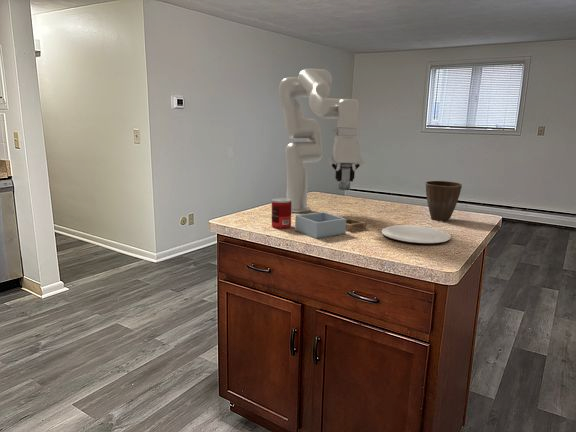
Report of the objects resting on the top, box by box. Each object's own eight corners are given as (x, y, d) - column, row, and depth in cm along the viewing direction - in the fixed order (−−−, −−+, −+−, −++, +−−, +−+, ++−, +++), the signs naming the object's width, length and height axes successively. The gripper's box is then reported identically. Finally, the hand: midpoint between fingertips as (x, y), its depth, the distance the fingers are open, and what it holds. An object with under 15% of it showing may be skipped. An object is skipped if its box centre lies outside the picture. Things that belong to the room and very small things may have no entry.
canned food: (293, 225, 180) (294, 198, 177) (287, 229, 172) (287, 202, 170) (275, 223, 182) (276, 197, 180) (268, 227, 175) (268, 200, 172)
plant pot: (458, 224, 186) (462, 187, 182) (421, 221, 190) (424, 184, 187) (457, 217, 200) (461, 182, 196) (423, 214, 204) (426, 180, 201)
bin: (295, 230, 171) (295, 215, 170) (323, 226, 178) (323, 211, 177) (316, 239, 160) (316, 222, 159) (345, 234, 167) (346, 218, 166)
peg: (339, 190, 169) (340, 163, 167) (336, 188, 174) (337, 162, 172) (352, 190, 169) (354, 164, 167) (349, 188, 174) (350, 162, 172)
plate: (399, 225, 184) (399, 221, 183) (460, 237, 168) (460, 232, 168) (369, 237, 165) (369, 233, 164) (434, 251, 149) (435, 246, 149)
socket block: (334, 226, 179) (334, 220, 178) (351, 224, 183) (351, 218, 183) (348, 231, 171) (349, 225, 171) (366, 228, 176) (366, 222, 175)
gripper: (326, 132, 162) (324, 182, 166) (371, 133, 164) (368, 182, 168) (323, 132, 170) (321, 179, 174) (366, 132, 171) (363, 179, 176)
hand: (344, 180), depth 171 cm, fingers closed on peg, 4 cm apart
